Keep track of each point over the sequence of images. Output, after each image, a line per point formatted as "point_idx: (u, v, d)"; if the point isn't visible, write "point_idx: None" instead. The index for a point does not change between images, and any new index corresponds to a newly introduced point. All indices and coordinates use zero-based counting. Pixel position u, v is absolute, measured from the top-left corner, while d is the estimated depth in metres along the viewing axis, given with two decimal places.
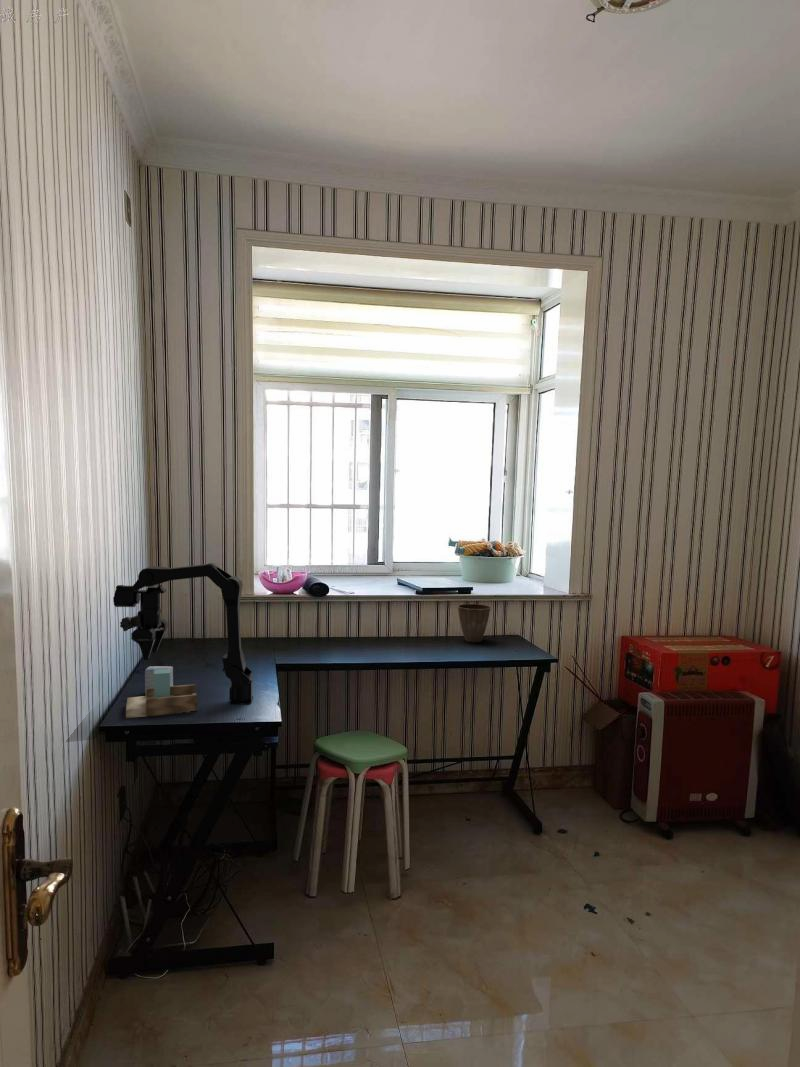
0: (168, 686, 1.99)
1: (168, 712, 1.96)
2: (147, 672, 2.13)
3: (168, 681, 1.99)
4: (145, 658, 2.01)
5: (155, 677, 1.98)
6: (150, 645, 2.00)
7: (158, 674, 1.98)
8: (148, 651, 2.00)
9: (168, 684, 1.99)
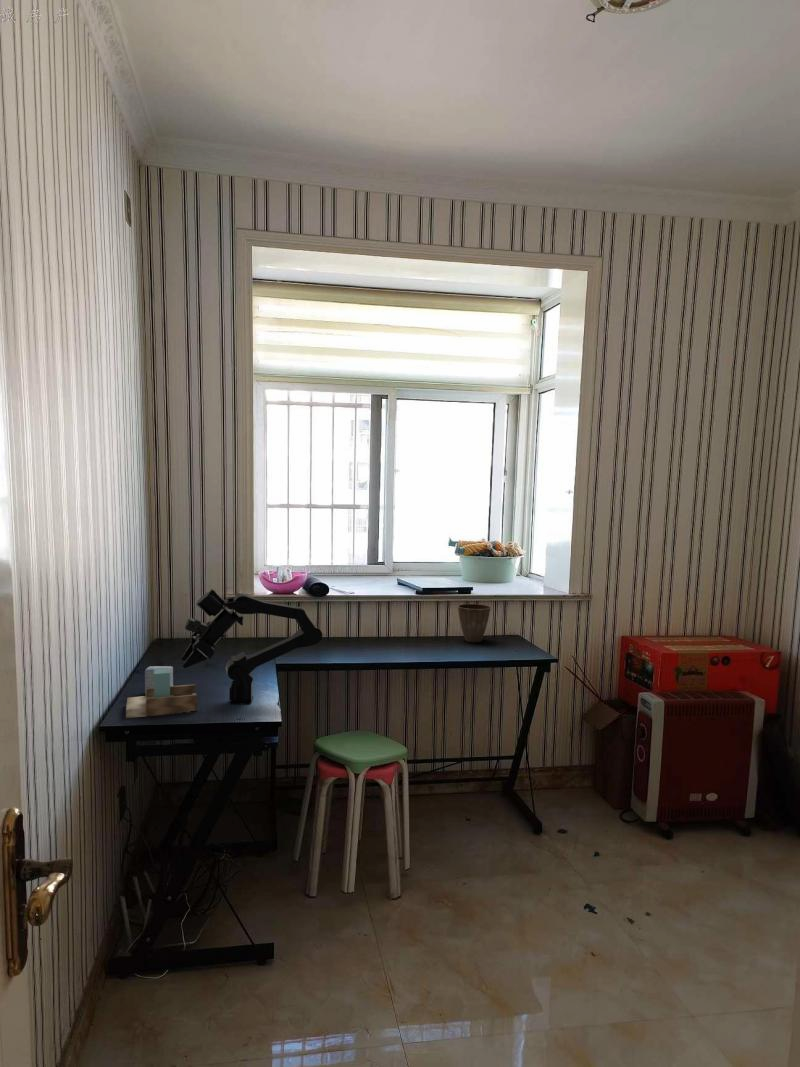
0: (168, 686, 1.99)
1: (168, 712, 1.96)
2: (147, 672, 2.13)
3: (168, 681, 1.99)
4: (184, 665, 1.98)
5: (155, 677, 1.98)
6: (200, 660, 1.98)
7: (158, 674, 1.98)
8: (193, 663, 1.98)
9: (168, 684, 1.99)
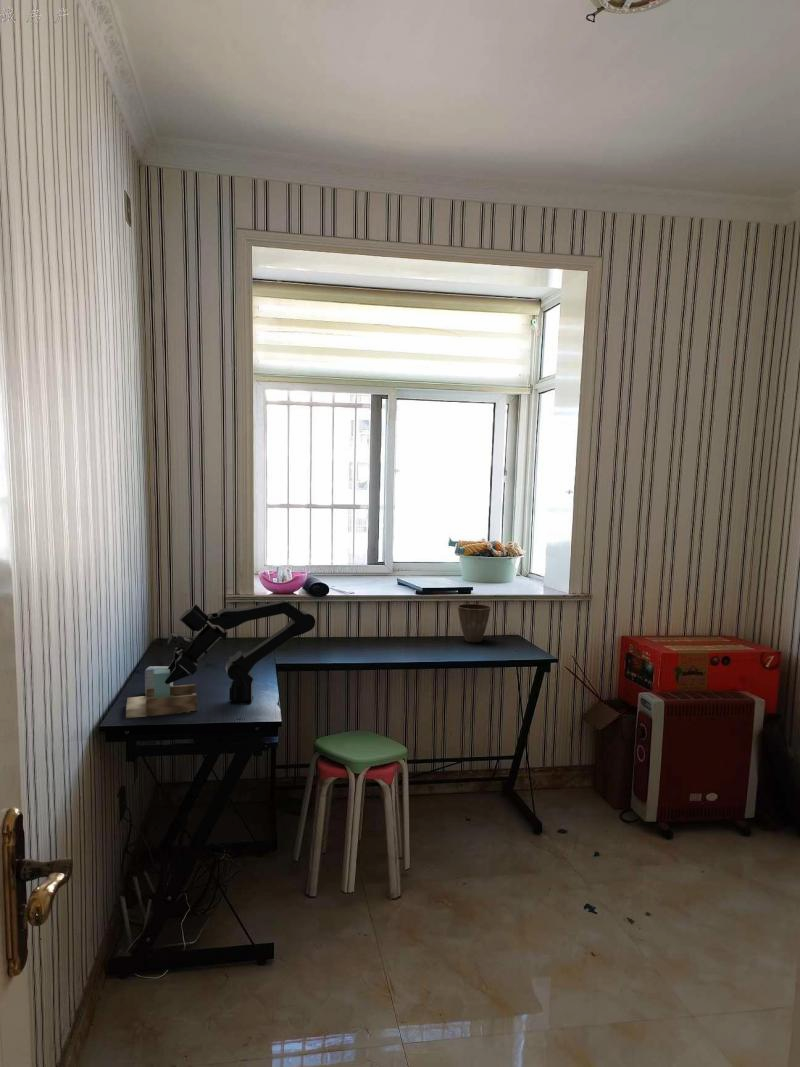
0: (168, 686, 1.99)
1: (168, 712, 1.96)
2: (147, 672, 2.13)
3: None
4: (167, 681, 1.97)
5: (155, 677, 1.98)
6: (182, 676, 1.97)
7: (158, 674, 1.98)
8: (175, 679, 1.97)
9: (168, 684, 1.99)
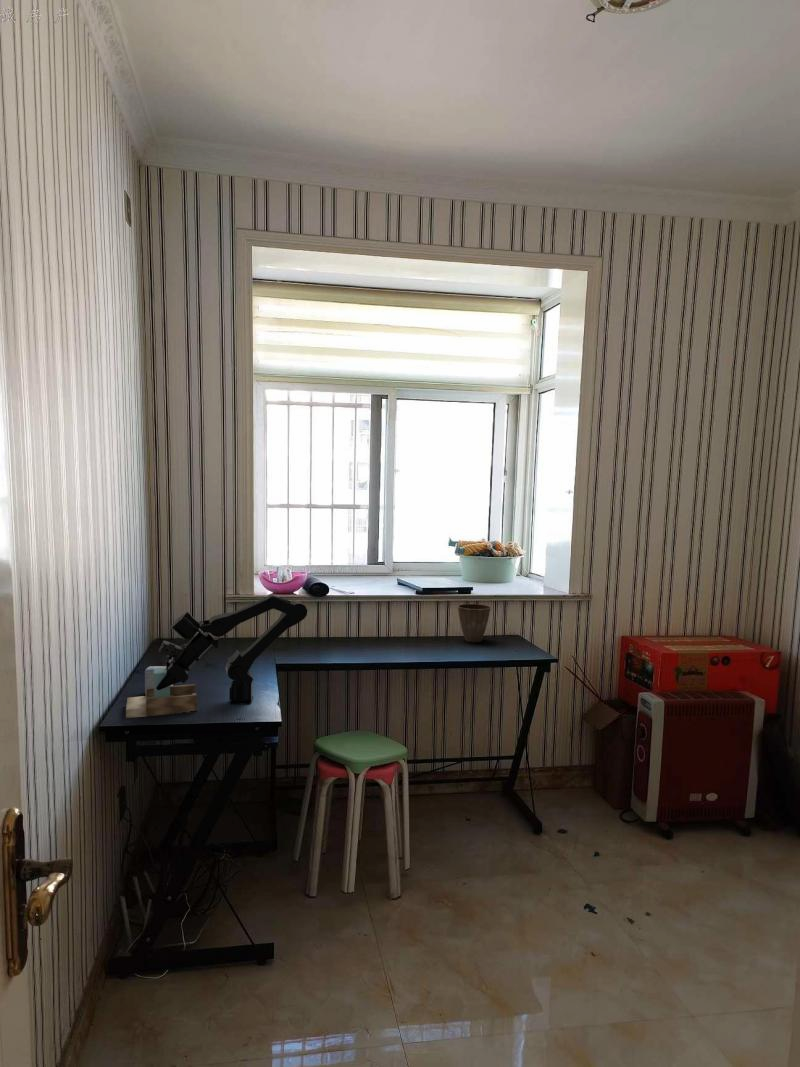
0: (168, 686, 1.99)
1: (168, 712, 1.96)
2: (147, 672, 2.13)
3: None
4: (158, 688, 1.98)
5: (155, 677, 1.98)
6: (174, 682, 1.98)
7: (158, 674, 1.98)
8: (167, 685, 1.98)
9: None
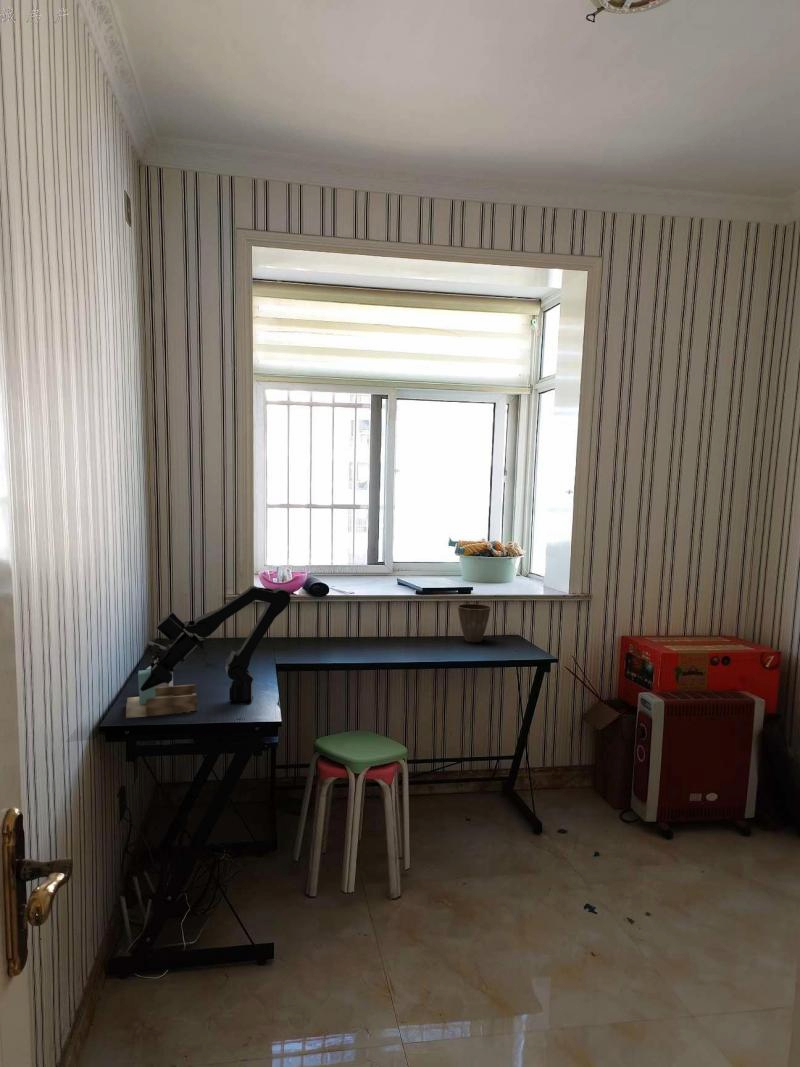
0: None
1: (168, 712, 1.96)
2: None
3: None
4: (142, 688, 1.96)
5: (139, 678, 1.96)
6: (158, 683, 1.97)
7: (142, 675, 1.97)
8: (151, 685, 1.97)
9: None
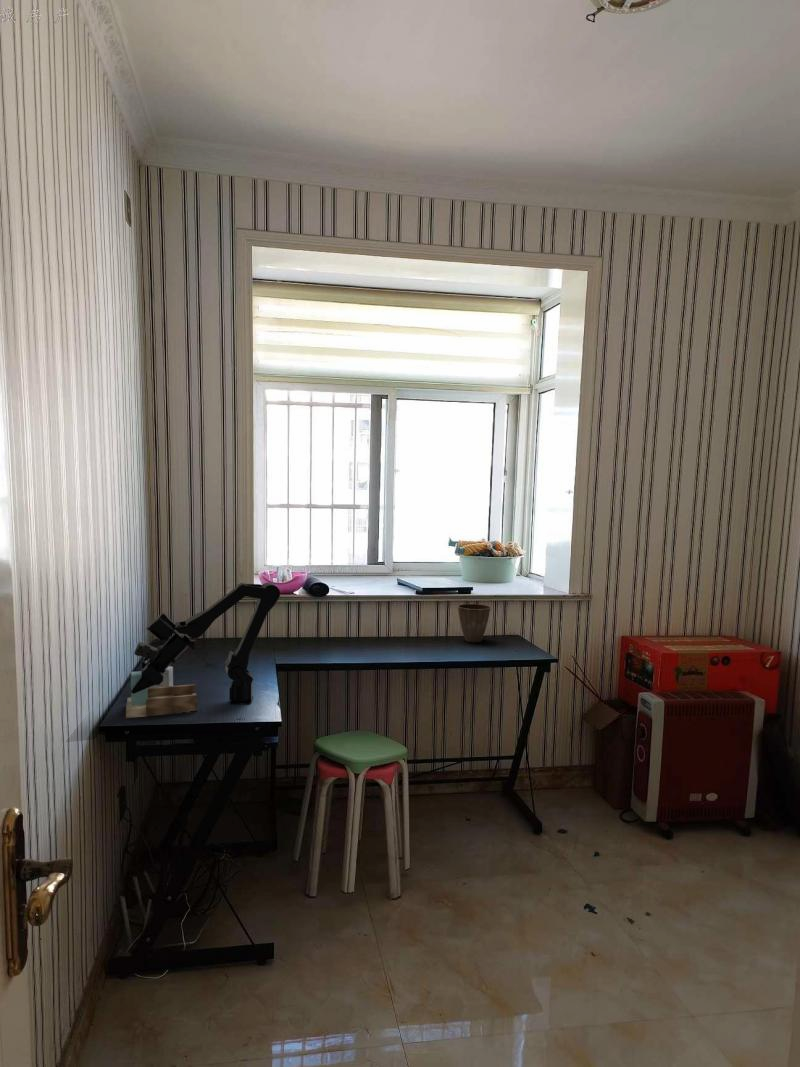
0: None
1: (168, 712, 1.96)
2: None
3: None
4: (133, 691, 1.94)
5: (132, 679, 1.96)
6: (149, 685, 1.94)
7: (135, 676, 1.96)
8: (142, 688, 1.94)
9: None
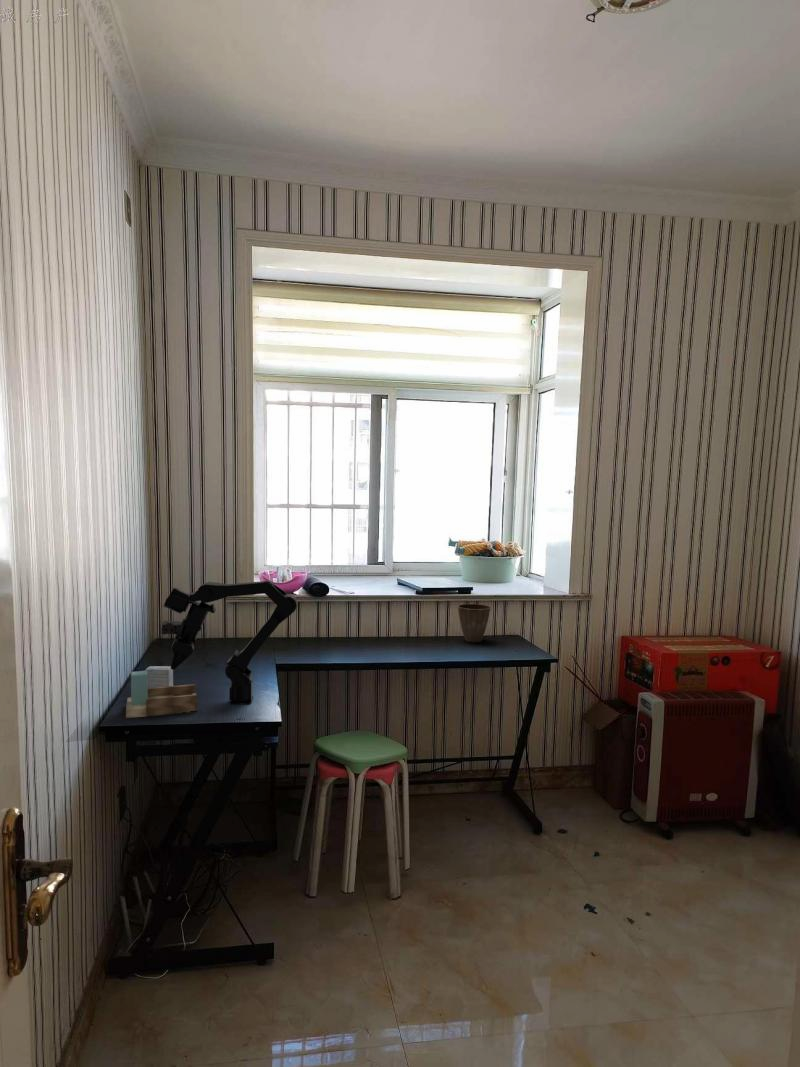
0: (145, 688, 1.97)
1: (168, 712, 1.96)
2: (147, 672, 2.13)
3: (145, 683, 1.97)
4: (172, 668, 2.02)
5: (132, 679, 1.96)
6: (184, 658, 2.01)
7: (135, 676, 1.96)
8: (179, 663, 2.01)
9: (145, 686, 1.97)
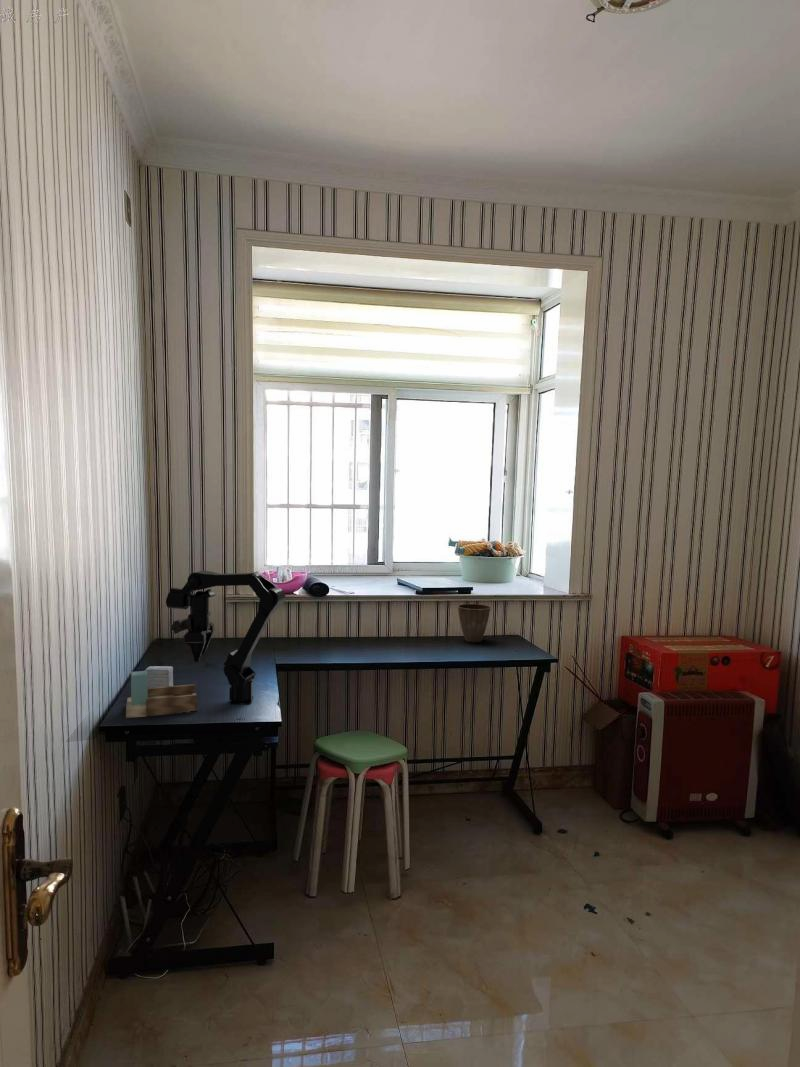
0: (145, 688, 1.97)
1: (168, 712, 1.96)
2: (147, 672, 2.13)
3: (145, 683, 1.97)
4: (196, 660, 2.07)
5: (132, 679, 1.96)
6: (201, 647, 2.05)
7: (135, 676, 1.96)
8: (199, 653, 2.06)
9: (145, 686, 1.97)
